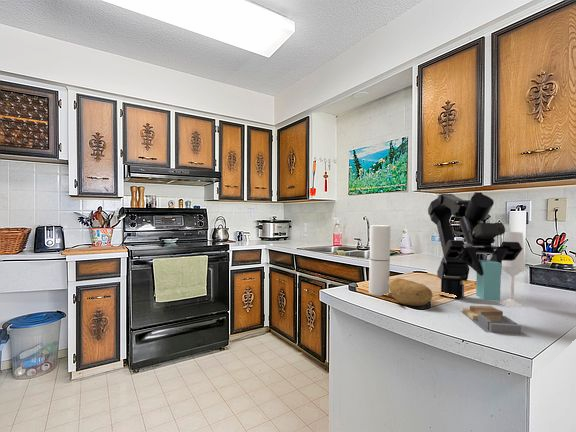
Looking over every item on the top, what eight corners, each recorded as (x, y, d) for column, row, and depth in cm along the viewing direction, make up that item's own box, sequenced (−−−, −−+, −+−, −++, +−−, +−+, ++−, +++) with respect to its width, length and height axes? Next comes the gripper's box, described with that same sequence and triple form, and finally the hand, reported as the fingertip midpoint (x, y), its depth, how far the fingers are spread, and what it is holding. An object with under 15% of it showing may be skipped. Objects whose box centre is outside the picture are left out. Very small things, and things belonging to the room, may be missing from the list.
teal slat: (476, 295, 85) (477, 259, 85) (491, 296, 85) (492, 260, 85) (483, 299, 81) (484, 262, 81) (500, 300, 80) (501, 263, 80)
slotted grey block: (460, 314, 90) (460, 304, 90) (493, 316, 88) (494, 306, 88) (485, 335, 74) (486, 323, 74) (526, 339, 73) (527, 326, 73)
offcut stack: (462, 311, 90) (462, 303, 89) (492, 313, 88) (492, 305, 88) (472, 319, 83) (473, 311, 83) (505, 321, 81) (505, 313, 81)
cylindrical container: (365, 292, 112) (366, 225, 111) (375, 289, 117) (376, 224, 116) (382, 297, 107) (384, 226, 106) (392, 293, 112) (394, 225, 111)
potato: (420, 314, 89) (421, 287, 89) (382, 302, 101) (382, 278, 101) (439, 309, 94) (440, 283, 94) (401, 297, 106) (401, 275, 106)
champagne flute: (529, 306, 98) (531, 232, 98) (514, 308, 96) (516, 233, 96) (508, 300, 104) (510, 231, 104) (494, 302, 102) (496, 231, 102)
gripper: (448, 212, 88) (462, 255, 77) (519, 213, 85) (544, 258, 74) (438, 236, 96) (450, 279, 85) (503, 238, 93) (524, 283, 82)
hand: (490, 275), depth 81 cm, fingers closed on teal slat, 4 cm apart
